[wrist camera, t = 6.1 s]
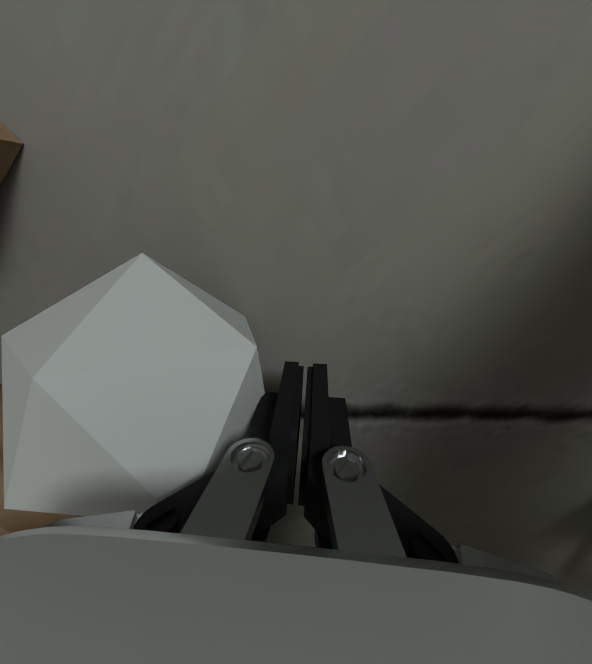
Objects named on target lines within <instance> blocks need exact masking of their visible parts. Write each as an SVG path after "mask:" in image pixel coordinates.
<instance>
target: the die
mask: <svg viewBox="0 0 592 664" xmlns="http://www.w3.org/2000/svg"><path fill="white" fill-rule="evenodd" d="M264 394H265V390H264V385H263V379H262V373H261V367H260V362H259V356H258V350H257V346H256V343H255V341H254V338H253V335H252V333H251V330H250V328H249V325H248V323H247V320H246V317H245V316H244V315H242V314H240V313H239V312H237V311H235V310H234V309H232V308H231V307H229V306H227V305H226V304H224V303H222V302H221V301H219V300H218V299H216V298H214V297H213V296H211V295H210V294H208V293H206V292H205V291H203V290H201V289H200V288H198V287H197V286H195V285H193V284H192V283H190V282H188V281H187V280H185V279H184V278H182V277H180V276H179V275H177V274H176V273H174V272H172V271H171V270H169V269H167V268H166V267H164V266H163V265H161V264H159V263H158V262H156V261H154V260H153V259H151V258H150V257H148V256H146V255H145V254H143V253H141V254H139V255H138V256H136V257H134V258H133V259H131V260H129V261H127V262H126V263H124V264H122V265H121V266H119V267H117V268H116V269H114V270H112V271H110V272H109V273H107V274H105V275H104V276H102V277H100V278H99V279H97V280H95V281H94V282H92V283H90V284H88V285H87V286H85V287H83V288H82V289H80V290H78V291H77V292H75V293H73V294H71V295H70V296H68V297H66V298H65V299H63V300H61V301H60V302H58V303H56V304H55V305H53V306H51V307H49V308H48V309H46V310H44V311H43V312H41V313H39V314H38V315H36V316H34V317H32V318H31V319H29V320H27V321H26V322H24V323H22V324H21V325H19V326H17V327H16V328H14V329H12V330H10V331H9V332H7V333H5V334H4V335H2V401H3V468H4V509H13V510H24V511H35V512H46V513H57V514H69V515H80V516H92V515H101V514H109V513H117V512H125V511H133V510H136V514H142V513H144V512H145V511H146V510H148V509H149V508H150V507H152V506H153V505H155V504H156V503H158V502H160V501H162V500H163V499H165V498H167V497H169V496H171V495H172V494H174V493H176V492H178V491H179V490H181V489H183V488H185V487H186V486H188V485H190V484H192V483H193V482H195V481H197V480H199V479H201V478H202V477H204V476H206V475H208V474H209V473H211V472H213V471H215V470H216V469H217V468H218V466H219V464H220V462H221V461H222V459H223V457H224V455H225V454H226V452H227V450H228V449H229V448H230V447H231V446H232V445H233V444H234V443H236V442H237V441H240V440H242V439H247V438H249V435H250V432H251V428H252V425H253V422H254V418H255V415H256V412H257V408H258V405H259V402H260V398H261V397H262V396H263V395H264Z"/></svg>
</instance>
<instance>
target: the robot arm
mask: <svg viewBox="0 0 592 664" xmlns="http://www.w3.org/2000/svg"><path fill="white" fill-rule="evenodd" d="M303 369H304V366H299V362H288V361H285V365H284V369H283V374H282V379H281V383H280V388H279V393H272V392H265V394H264V395H263V396H262V397H261V398H260V402H259V405H258V408H257V412H256V415H255V418H254V422H253V425H252V428H251V432H250V435H249V438H247V439H242V440H240V441H237V442H236V443H234V444H233V445H232V446H231V447H230V448H229V449H228V450H227V452H226V454H225V455H224V457H223V459H222V461H221V462H220V464H219V466H218V468H217V469H216V470H215V471H213V472H211V473H209V474H208V475H206V476H204V477H202V478H201V479H199V480H197V481H195V482H193V483H192V484H190V485H188V486H186V487H185V488H183V489H181V490H179V491H178V492H176V493H174V494H172V495H171V496H169V497H167V498H165V499H163V500H162V501H160V502H158V503H156V504H155V505H153V506H152V507H150V508H149V509H148V510H146V511H145V512H144V513H142V514H136V510H133V511H125V512H117V513H109V514H101V515H92V516H84V517H76V518H68V519H62V520H58V521H54V522H51V523H49V524H47V525H46V526H44V527H42V528H37V529H30V530H23V531H17V532H14V533H10V534H6V535H2V536H0V664H592V595H590V594H588V593H586V592H583V591H581V590H578V589H575V588H572V587H569V586H566V585H564V584H563V583H562V582H560V581H559V580H558V579H556V578H555V577H554V576H552V575H550V574H548V573H546V572H544V571H542V570H540V569H537V568H534V567H531V566H528V565H525V564H522V563H519V562H516V561H513V560H509V559H506V558H503V557H500V556H497V555H494V554H491V553H488V552H485V551H482V550H479V549H476V548H473V547H469V546H466V545H463V544H460V543H459V545H458V547H455V546H452V545H450V544H449V542H448V541H447V540H446V539H445V538H444V537H443V536H442V535H441V534H440V533H438V532H437V531H436V530H435V529H433V528H432V527H431V526H430V525H429V524H427V523H426V522H425V521H424V520H422V519H421V518H420V517H419V516H417V515H416V514H415V513H414V512H413V511H411V510H410V509H409V508H408V507H406V506H405V505H404V504H403V503H401V502H400V501H399V500H398V499H397V498H395V497H394V496H393V495H392V494H390V493H389V492H388V491H387V490H385V489H384V488H383V487H382V486H381V485H379V483H378V480H377V478H376V475H375V473H374V470H373V467H372V465H371V463H370V461H369V459H368V458H367V457H366V456H365V455H364V454H363V453H362V452H360V451H359V450H357V449H355V448H352V444H351V437H350V430H349V422H348V415H347V407H346V401H345V398H334V397H328V378H327V364H315V363H313V367H308V371H307V385H306V399H305V413H304V428H303V442H302V457H301V471H300V485H299V500H298V505H302V506H304V517H305V518H306V520H307V521H308V522H309V523H310V524H311V525H312V526H313V528H314V529H315V531H314V538H315V545H316V548H315V547H306V546H296V545H287V544H277V543H269V542H270V538H271V535H272V530H273V524H274V523H275V522H277V521H278V520H279V519H280V518H282V517H283V516H284V515H286V506H287V504H292V505H293V499H294V488H295V476H296V464H297V453H298V441H299V430H300V416H301V401H302V385H303Z"/></svg>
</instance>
